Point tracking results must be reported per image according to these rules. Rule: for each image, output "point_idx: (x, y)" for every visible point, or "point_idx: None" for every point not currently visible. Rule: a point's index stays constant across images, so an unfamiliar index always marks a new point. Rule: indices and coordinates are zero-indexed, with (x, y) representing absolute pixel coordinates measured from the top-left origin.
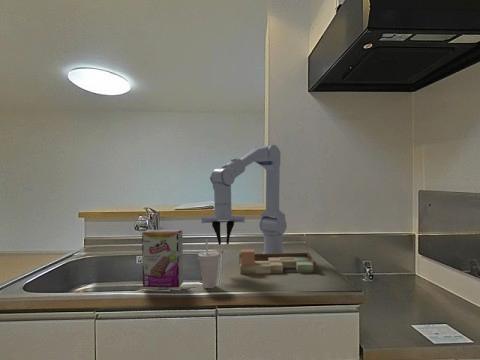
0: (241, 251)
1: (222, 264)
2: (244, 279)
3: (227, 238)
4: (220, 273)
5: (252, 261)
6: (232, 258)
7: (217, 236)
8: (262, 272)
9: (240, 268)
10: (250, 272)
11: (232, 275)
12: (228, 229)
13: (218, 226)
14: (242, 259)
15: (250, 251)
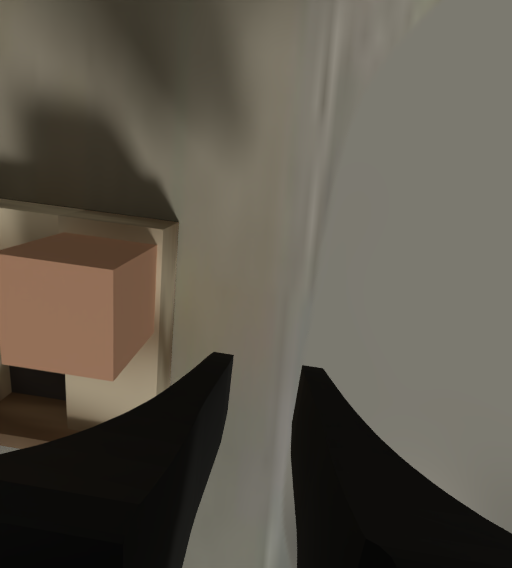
0: (107, 294)
1: (274, 438)
2: (159, 92)
3: (207, 379)
4: (302, 257)
5: (61, 240)
6: (208, 534)
7: (354, 417)
8: (40, 204)
9: (167, 227)
10: (113, 213)
11: (230, 198)
12: (139, 447)
13: (380, 527)
14: (128, 253)
15: (26, 278)
